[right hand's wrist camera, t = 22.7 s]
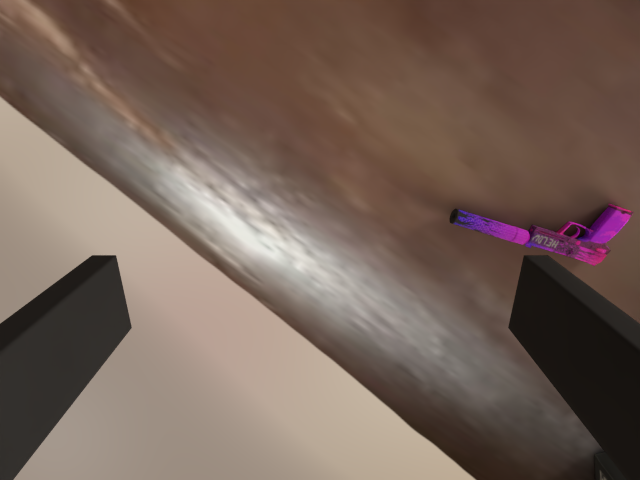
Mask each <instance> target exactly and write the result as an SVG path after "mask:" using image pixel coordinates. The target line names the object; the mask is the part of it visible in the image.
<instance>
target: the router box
mask: <svg viewBox="0 0 640 480" xmlns="http://www.w3.org/2000/svg"><path fill="white" fill-rule="evenodd" d="M594 459H595V476H596V480H627V479H626V478H625V477H624V475H623V474H622V473H621V472H620V470H619V469H618V468H617V466H616V465H615V464H614V463H613V461H612V460H611V459H610V457H609V456H608V455H607V454H606V452H603V453H600V454H595V458H594Z"/></svg>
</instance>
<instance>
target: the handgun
mask: <svg viewBox="0 0 640 480" xmlns="http://www.w3.org/2000/svg"><path fill="white" fill-rule="evenodd" d="M633 213H634V212H632V211H629V210H626V209H624V208H621V207H618V206H615V205H611V204H609V206H608V208H607V209H606V210H605V211H604V212H603V213H602V215H601V216H599V218H598V219H597V220H596V221H595V222H594V223H593V225H592V226H591V227H590V228H586V227H585V226H582V225H580V224H577V223H574V222H567V223H566V224H565V225H564V226H563V227H562V228H561V229H559V230H558V231H557V232H554V231H551V230H548V229H545V228H542V227H538V226H535V225H532V226H531V228H530V229H529V230H528V231H527V230H524V229H520V228H517V227H515V226H511V225H507V224H504V223H501V222H498V221H494V220H491V219H488V218H485V217H481V216H478V215H475V214H472V213H468V212H465V211H462V210H459V209H454V210H453V212H452V213H451V216H450V223H452V224H455V225H459V226H462V227H465V228H469V229H472V230H475V231H479V232H482V233H485V234H489V235H492V236H495V237H499V238H502V239H505V240H508V241H510V242H515V243H518V244H525V243H526V244H525V246H527V247H529V248H530V247H531V246H535V247H538V248H542V249H545V250H548V251H552V252H556V253H559V254H563V255H566V256H568V257H571V258H575V259H578V260H581V261H585V262H587V263H589V264H592V265H593V266H595V265H596V264H598V263H600V262H601V261H602V260H603V259H604V258H605V257H606V255H607V254H608V253H609V252H610V251H611V250H610V248H609V247H607V246H606V242H607V241H608V240H610V239H611V238H612V237H613V236H615V235H616V234H617V233H618V232H619V231H620V229H621V228H622V227H623V226H624V225H625V224H626V223H627V221H628V220H629V219H630V217H631V216H632V214H633ZM571 224H575V225H578V226H580V227H582V228H585V234H584V236H582V237H579V238H576V237H577V236H578V235H579V232H580V229H579V228H578V227H576V228H578V230H577V232H576V234H574V235H573V236H568V235H564V234H563V233H564V231H565V230H566V229H567V228H568V227H569V226H570V225H571Z"/></svg>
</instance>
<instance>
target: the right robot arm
mask: <svg viewBox="0 0 640 480" xmlns="http://www.w3.org/2000/svg"><path fill="white" fill-rule="evenodd" d="M508 328H509V329H510V331H511V332H512V333H513V334H514V336H515V337H516V338H517V339H518V341H519V342H520V343H521V345H522V346H523V347H524V348H525V350H526V351H527V352H528V354H529V355H530V356H531V357H532V359H533V360H534V361H535V363H536V364H537V365H538V366H539V368H540V369H541V370H542V372H543V373H544V374H545V375H546V377H547V378H548V379H549V381H550V382H551V383H552V384H553V386H554V387H555V388H556V389H557V391H558V392H559V393H560V395H561V396H562V397H563V398H564V400H565V401H566V402H567V404H568V405H569V406H570V407H571V409H572V410H573V411H574V413H575V414H576V415H577V416H578V418H579V419H580V420H581V422H582V423H583V424H584V425H585V427H586V428H587V429H588V431H589V432H590V433H591V434H592V436H593V437H594V438H595V439H596V441H597V442H598V443H599V445H600V446H601V447H602V448H603V450H604V451H605V452H606V454H607V455H608V456H609V457H610V459H611V460H612V461H613V463H614V464H615V465H616V466H617V468H618V469H619V470H620V472H621V473H622V474H623V475H624V477H625V478H626V479H627V480H640V324H639V323H638V322H637V321H635V320H634V319H633V318H631V317H630V316H629V315H627V314H626V313H625V312H623V311H622V310H621V309H619V308H618V307H616V306H615V305H614V304H612V303H611V302H610V301H608V300H607V299H606V298H604V297H603V296H602V295H600V294H599V293H598V292H596V291H595V290H594V289H592V288H591V287H590V286H588V285H587V284H586V283H584V282H583V281H581V280H580V279H579V278H577V277H576V276H575V275H573V274H572V273H571V272H569V271H568V270H567V269H565V268H564V267H563V266H561V265H560V264H559V263H557V262H556V261H555V260H553V259H552V258H551V257H549V256H548V255H524V258H523V262H522V267H521V272H520V276H519V281H518V286H517V290H516V295H515V299H514V304H513V309H512V313H511V318H510V323H509V327H508ZM130 329H131V323H130V318H129V313H128V309H127V304H126V299H125V295H124V290H123V286H122V281H121V276H120V272H119V267H118V262H117V258H116V256H115V255H112V256H111V255H107V256H106V255H104V256H101V255H93V256H91V257H89V258H88V259H87V260H86V261H84V262H83V263H81V264H80V265H79V266H77V267H76V268H75V269H73V270H72V271H71V272H69V273H68V274H67V275H65V276H64V277H63V278H61V279H60V280H59V281H57V282H56V283H55V284H53V285H52V286H50V287H49V288H48V289H46V290H45V291H44V292H42V293H41V294H40V295H38V296H37V297H36V298H34V299H33V300H32V301H30V302H29V303H28V304H26V305H25V306H24V307H22V308H21V309H19V310H18V311H17V312H15V313H14V314H13V315H12V316H10V317H9V318H7V319H6V320H5V321H3V322H2V323H1V324H0V480H13V479H14V478H15V477H16V475H17V474H18V473H19V472H20V470H21V469H22V468H23V466H24V465H25V464H26V463H27V461H28V460H29V459H30V457H31V456H32V455H33V454H34V452H35V451H36V450H37V448H38V447H39V446H40V445H41V443H42V442H43V441H44V439H45V438H46V437H47V436H48V434H49V433H50V432H51V430H52V429H53V428H54V427H55V425H56V424H57V423H58V422H59V420H60V419H61V418H62V416H63V415H64V414H65V413H66V411H67V410H68V409H69V407H70V406H71V405H72V404H73V402H74V401H75V400H76V398H77V397H78V396H79V395H80V393H81V392H82V391H83V389H84V388H85V387H86V386H87V384H88V383H89V382H90V380H91V379H92V378H93V377H94V375H95V374H96V373H97V372H98V370H99V369H100V368H101V366H102V365H103V364H104V363H105V361H106V360H107V359H108V357H109V356H110V355H111V354H112V352H113V351H114V350H115V348H116V347H117V346H118V345H119V343H120V342H121V341H122V339H123V338H124V337H125V336H126V334H127V333H128V332H129V330H130Z"/></svg>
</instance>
